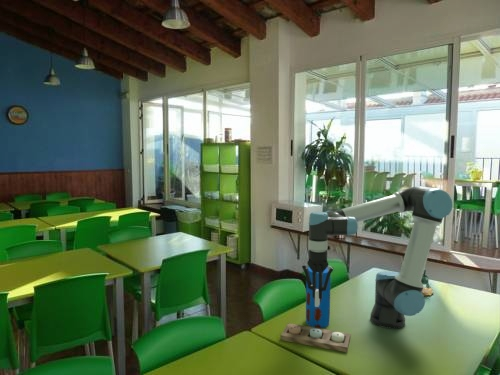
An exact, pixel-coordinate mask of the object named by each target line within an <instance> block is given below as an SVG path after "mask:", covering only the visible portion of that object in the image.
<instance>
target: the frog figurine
mask: <svg viewBox="0 0 500 375" xmlns="http://www.w3.org/2000/svg"><path fill="white" fill-rule="evenodd" d="M426 273H427V270H426V269H425V268H424V272H423V275H422V279H421V282H422V284H423V290H422V294H423V296H424V297H425V296H432V294H433V293H434V290H433V287H432V286H431V284H429V276H427V275H426ZM424 285H425V286H424Z"/></svg>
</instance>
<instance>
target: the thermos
mask: <svg viewBox="0 0 500 375" xmlns="http://www.w3.org/2000/svg"><path fill="white" fill-rule="evenodd" d="M308 267H309V266H308ZM308 270H309V274H310V278H311V283H312V281H313V274H312V270H311V269H310V267H309V268H308ZM327 273H328V271H327V268H326V269H325V270H324V271H323V286H324V284H325V280H326V276H327ZM331 276H332V274H331V275H330V278H329V282H328V286H327V289H326V290H323V291H322V298H321V299H320V305H319V307H315V298H313V297H312V295H313V291H312V289H309V288H308V285H307V280H306V281H305V282H306V283H305V284H306V285H305V288H306V289H305V290H306V291H305V323H306V325H308V327H314V328H319V329H325V328H326V327H328V326H330V315H331V314H330V313H331V312H330V311H331V279H332V278H331ZM316 287H317V288H316V289H319V273H318V272H317V278H316Z"/></svg>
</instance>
